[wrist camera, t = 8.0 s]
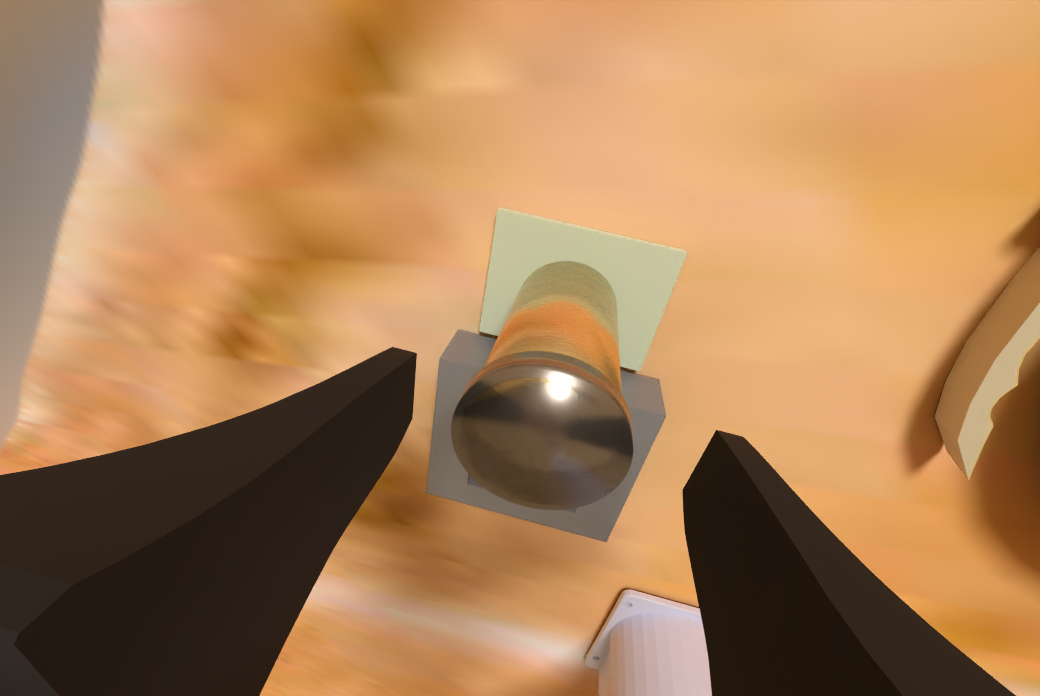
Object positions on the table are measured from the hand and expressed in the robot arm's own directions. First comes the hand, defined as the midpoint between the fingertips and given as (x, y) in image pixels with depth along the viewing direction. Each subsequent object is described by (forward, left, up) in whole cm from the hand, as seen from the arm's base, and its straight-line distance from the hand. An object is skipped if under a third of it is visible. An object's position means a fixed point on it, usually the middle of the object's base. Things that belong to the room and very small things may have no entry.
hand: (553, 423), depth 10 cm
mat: (0, 0, -8) cm, 8 cm away
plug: (-1, 0, -8) cm, 8 cm away
